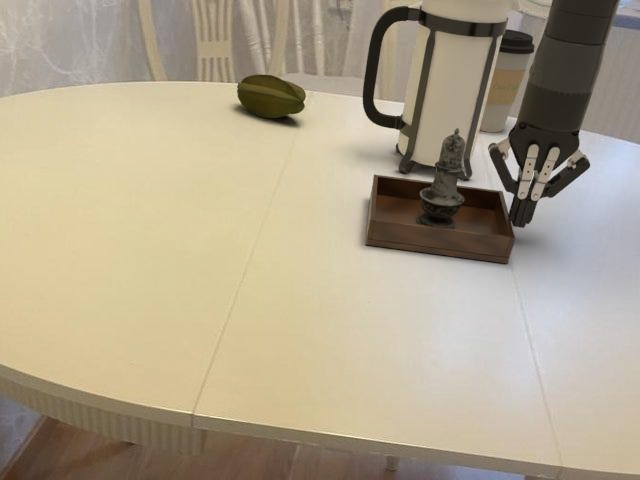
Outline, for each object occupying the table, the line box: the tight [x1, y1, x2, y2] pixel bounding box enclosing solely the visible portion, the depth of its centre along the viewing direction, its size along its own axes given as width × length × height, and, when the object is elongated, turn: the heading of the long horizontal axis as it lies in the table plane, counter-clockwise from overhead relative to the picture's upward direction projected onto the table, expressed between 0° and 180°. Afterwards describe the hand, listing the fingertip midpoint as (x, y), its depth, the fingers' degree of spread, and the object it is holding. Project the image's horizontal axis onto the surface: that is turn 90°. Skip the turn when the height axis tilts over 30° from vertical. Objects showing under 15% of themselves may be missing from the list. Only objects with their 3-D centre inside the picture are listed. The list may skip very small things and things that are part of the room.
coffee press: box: [362, 0, 522, 181], centre depth 110 cm, size 17×16×30 cm
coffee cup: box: [479, 28, 536, 133], centre depth 133 cm, size 9×9×15 cm
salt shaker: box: [417, 128, 465, 229], centre depth 97 cm, size 6×6×12 cm
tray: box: [365, 174, 516, 264], centre depth 100 cm, size 18×16×3 cm
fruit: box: [236, 73, 307, 119], centre depth 130 cm, size 11×12×7 cm
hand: (517, 224), depth 99 cm, fingers closed
